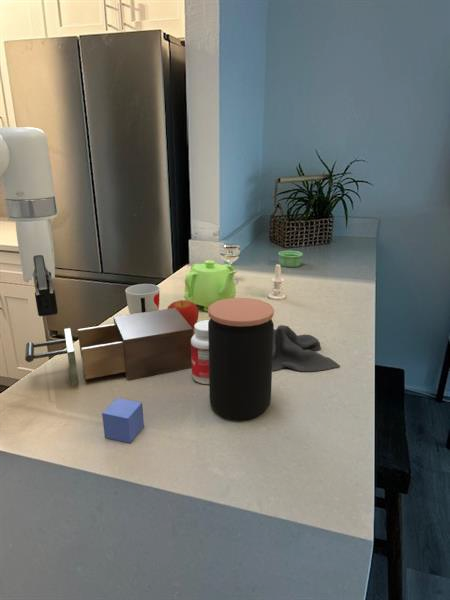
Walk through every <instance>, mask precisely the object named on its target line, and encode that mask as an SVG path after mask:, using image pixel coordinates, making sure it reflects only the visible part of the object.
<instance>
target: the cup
mask: <svg viewBox="0 0 450 600" xmlns="http://www.w3.org/2000/svg"><path fill="white" fill-rule="evenodd" d="M125 295H126V296H125V298H126V304H127V308H128V312H129V314H136V313H143V312H149V311H156V310H160V305H161V304H160V287H159V286H158V285H156V284H152V283H138V284H134V285H130V286H128V287H126V288H125Z"/></svg>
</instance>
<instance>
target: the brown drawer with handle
mask: <svg viewBox="0 0 450 600" xmlns="http://www.w3.org/2000/svg"><path fill="white" fill-rule="evenodd" d="M63 331H64V338H62V339H56V340H49V341H43V342H37V343H34V342H32V341H29V342H26V344H25V355H24V357H25V358H24V360H25V361H26V362H27V363H32V362H33V361H34V360H36V359H42V358H48V357H54V356H55V357H56V356H61V355H66V354H67V360H68V368H69V373H70V380H71V386H76V385H79V383H80V382H79V376H78V375H79V374H78V368H77V367H78V366H77V361H76V353H75V347H74V341H73V335H72V330H71V327H68V328H64V330H63ZM77 336H78V337H77V338H78V344H79V352H80V360H81V364H82V368H83V373H84V379H85V380H90V379H95V378H101V377H106V376H110V375H111V376H112V375H117V374H123V373H124V372H126V365H125V355H124V344H123V340H122V338H121V336H120V333H119V331H118V329H117V326H116V324H114V323H111V324H103V325H98V326H90V327H84V328H83V327H82V328H78V329H77ZM59 344H60V345H61V344H65V345H66V349H60V350H53V351H47V352H42V353H37V354H35V348H40V347H41V348H42V347H48V346H53V345H59Z"/></svg>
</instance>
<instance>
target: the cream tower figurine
mask: <svg viewBox="0 0 450 600" xmlns="http://www.w3.org/2000/svg"><path fill="white" fill-rule="evenodd" d="M281 275H282V266H281V265H280V264H279V263H277V264H275V271H274V277H273V278H270V281H271V282H273V287H272V288H271V292H270V293H268V295H267V298H269V299H270V300H274V301H280V300H284V299H286V297H287V295H286V294H285V293H284V292H283V291H284V290H283V288H282V282H285V279H284V278H282V276H281ZM282 292H283V293H282Z"/></svg>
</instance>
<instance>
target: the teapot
mask: <svg viewBox="0 0 450 600" xmlns="http://www.w3.org/2000/svg"><path fill="white" fill-rule="evenodd" d="M236 273H238V270H234V267H233V266H230V265H229V263H228V264H220V263H217V262H216V261H215V260H214V259H213V260H212V259H207V260H204V263H193V264H192V265H191V266H190V270H189V272H188V273H187V274H186V275H185V276H184V295H183V297H184V300H186V301H190V302H193V303H194V304H195V305H196V306H202V307H203V311H204V312H208V308H209V306H210V305H211V304H213V303H214V302H216V301H219V300H223V299H229V298H236V295H237V289H236V284H235V283H234V280H235V279H234V277H235V274H236Z"/></svg>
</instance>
